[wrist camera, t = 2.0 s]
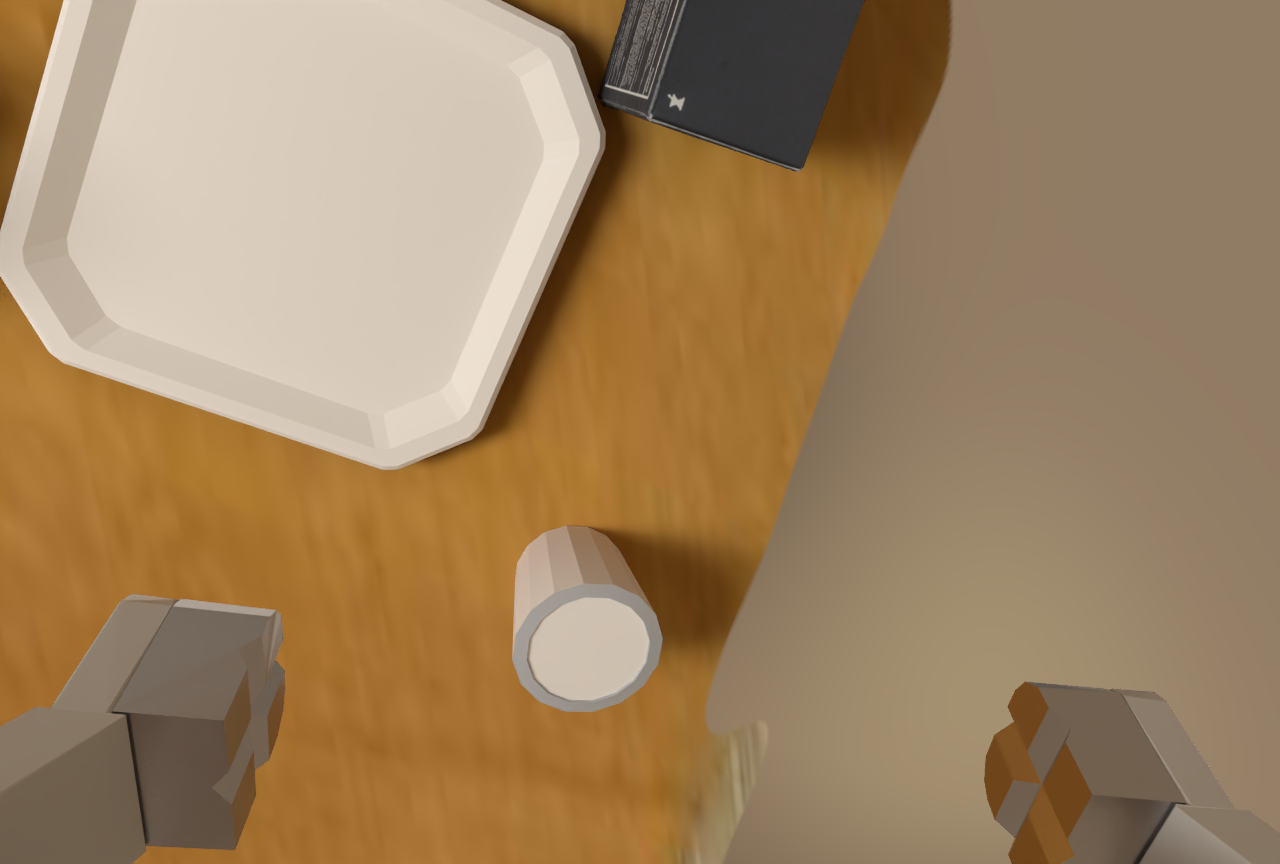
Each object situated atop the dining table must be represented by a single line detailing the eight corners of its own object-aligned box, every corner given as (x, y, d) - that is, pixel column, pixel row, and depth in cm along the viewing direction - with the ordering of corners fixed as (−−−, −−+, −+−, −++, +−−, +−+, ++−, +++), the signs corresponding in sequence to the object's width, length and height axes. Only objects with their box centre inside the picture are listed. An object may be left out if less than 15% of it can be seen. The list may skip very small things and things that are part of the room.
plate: (454, 477, 49) (454, 496, 47) (-9, 320, 43) (-32, 334, 41) (631, 68, 44) (641, 69, 42) (132, -184, 37) (114, -196, 35)
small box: (729, 149, 45) (808, 182, 36) (593, 102, 44) (637, 124, 34) (816, -99, 42) (927, -136, 33) (672, -161, 40) (746, -219, 31)
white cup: (474, 586, 51) (480, 666, 45) (563, 489, 50) (582, 556, 44) (576, 653, 54) (595, 738, 47) (662, 562, 53) (693, 636, 46)
